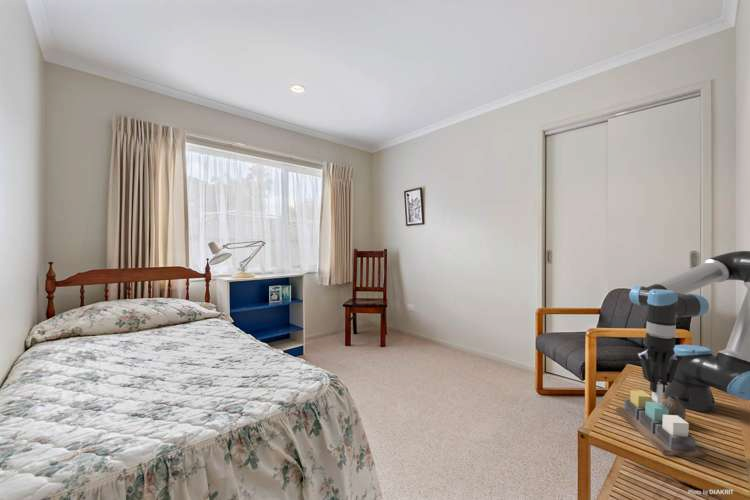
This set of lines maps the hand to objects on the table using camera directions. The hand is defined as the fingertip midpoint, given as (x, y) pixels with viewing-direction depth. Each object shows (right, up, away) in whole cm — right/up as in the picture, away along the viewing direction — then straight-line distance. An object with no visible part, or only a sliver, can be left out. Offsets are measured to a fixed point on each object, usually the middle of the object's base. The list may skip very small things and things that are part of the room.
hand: (656, 400), depth 111 cm
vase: (+12, -11, +7) cm, 18 cm away
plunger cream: (-1, -7, -7) cm, 10 cm away
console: (0, -11, +1) cm, 11 cm away
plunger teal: (0, -7, 0) cm, 7 cm away
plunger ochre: (+1, -6, +8) cm, 11 cm away
